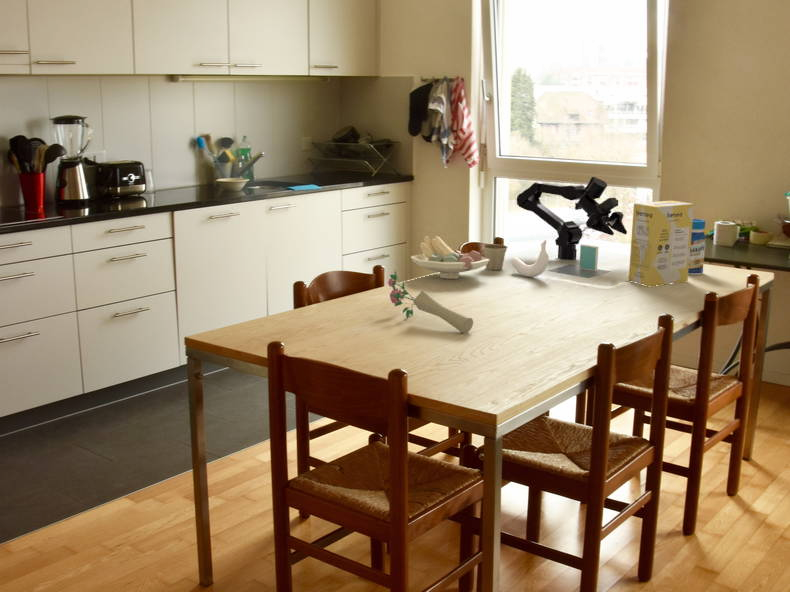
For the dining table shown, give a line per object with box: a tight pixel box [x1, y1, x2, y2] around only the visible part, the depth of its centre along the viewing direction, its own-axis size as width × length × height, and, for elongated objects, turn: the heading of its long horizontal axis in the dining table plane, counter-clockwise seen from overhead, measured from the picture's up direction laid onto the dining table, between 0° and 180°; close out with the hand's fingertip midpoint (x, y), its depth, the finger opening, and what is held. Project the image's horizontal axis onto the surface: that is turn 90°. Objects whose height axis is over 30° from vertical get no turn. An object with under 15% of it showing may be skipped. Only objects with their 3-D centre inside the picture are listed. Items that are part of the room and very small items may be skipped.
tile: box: [578, 244, 599, 271], centre depth 329 cm, size 7×1×9 cm, turn 46°
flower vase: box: [387, 270, 474, 335], centre depth 260 cm, size 12×12×35 cm
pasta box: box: [628, 200, 695, 287], centre depth 311 cm, size 18×10×28 cm, turn 119°
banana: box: [511, 239, 550, 278], centre depth 320 cm, size 5×19×15 cm, turn 36°
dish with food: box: [410, 235, 489, 280], centre depth 318 cm, size 28×28×14 cm
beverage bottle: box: [688, 218, 707, 276], centre depth 326 cm, size 8×8×20 cm
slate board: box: [545, 264, 611, 279], centre depth 328 cm, size 18×16×1 cm
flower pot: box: [482, 243, 508, 271], centre depth 334 cm, size 9×9×9 cm
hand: (619, 234), depth 331 cm, fingers open, 9 cm apart
